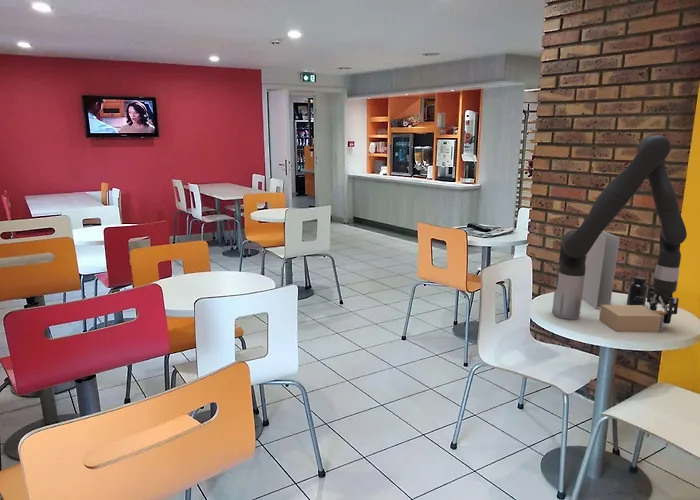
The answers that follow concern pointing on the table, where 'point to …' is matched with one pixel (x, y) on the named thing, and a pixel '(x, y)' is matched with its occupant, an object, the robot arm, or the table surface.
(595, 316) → the table surface
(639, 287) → the supplement bottle
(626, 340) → the table surface
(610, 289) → the grey standing panel
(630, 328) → the sleeve
